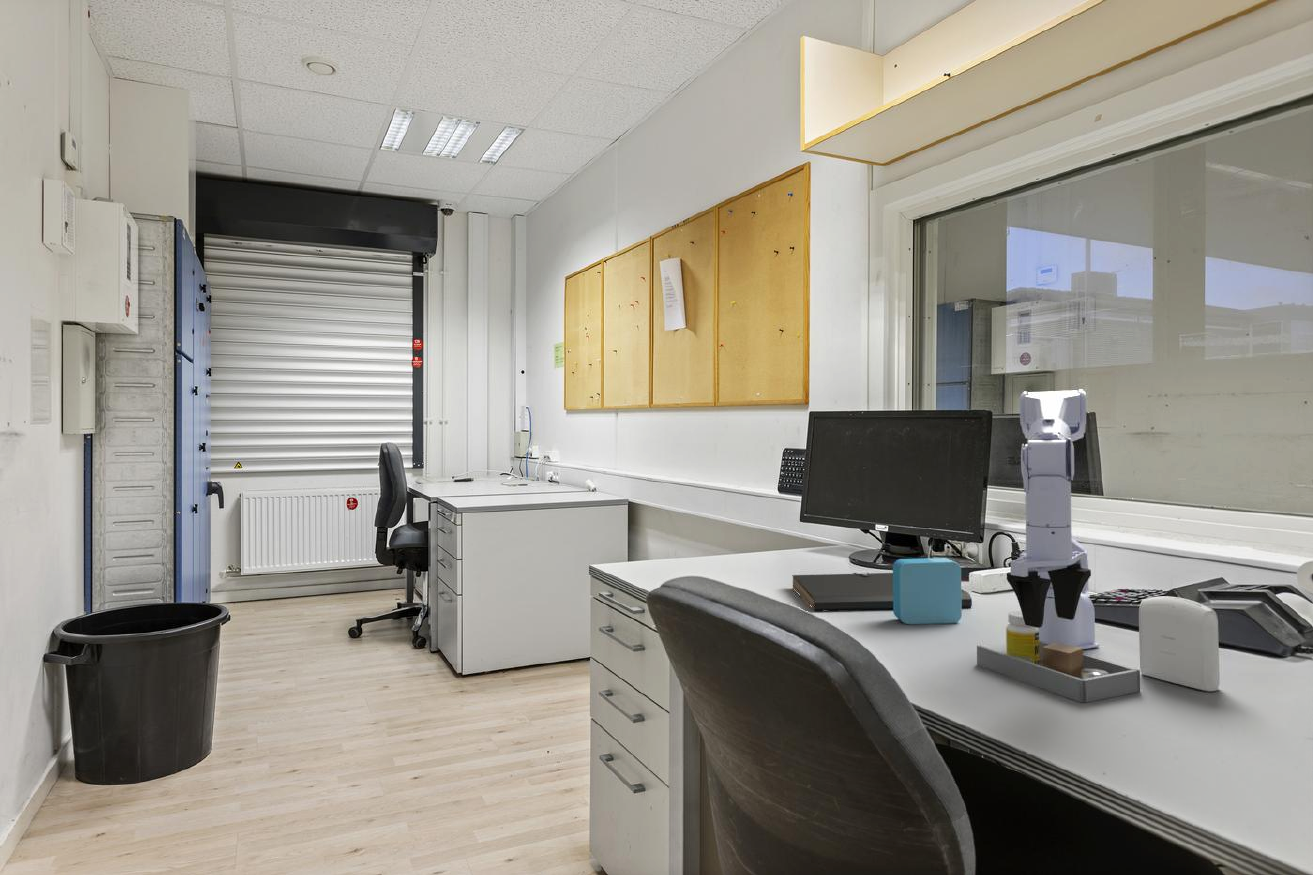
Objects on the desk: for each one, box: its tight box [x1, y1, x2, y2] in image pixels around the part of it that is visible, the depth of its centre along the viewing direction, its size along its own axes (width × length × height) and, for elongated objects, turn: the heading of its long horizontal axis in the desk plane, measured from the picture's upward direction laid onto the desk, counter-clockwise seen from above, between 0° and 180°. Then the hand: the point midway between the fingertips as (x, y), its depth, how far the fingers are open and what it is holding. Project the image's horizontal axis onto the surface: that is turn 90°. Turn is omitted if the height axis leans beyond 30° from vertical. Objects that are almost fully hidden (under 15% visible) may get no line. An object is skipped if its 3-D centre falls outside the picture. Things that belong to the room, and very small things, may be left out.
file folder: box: [791, 572, 973, 612], centre depth 173 cm, size 33×4×24 cm
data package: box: [892, 557, 963, 625], centre depth 152 cm, size 12×4×12 cm, turn 91°
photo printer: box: [1138, 595, 1221, 692], centre depth 114 cm, size 10×4×12 cm, turn 26°
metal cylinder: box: [1081, 669, 1109, 679], centre depth 110 cm, size 4×4×3 cm
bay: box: [976, 641, 1141, 704], centre depth 117 cm, size 11×19×3 cm, turn 22°
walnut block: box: [1041, 643, 1084, 679], centre depth 115 cm, size 4×4×5 cm
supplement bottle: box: [1005, 610, 1040, 665], centre depth 122 cm, size 5×5×8 cm
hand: (1049, 622), depth 108 cm, fingers open, 7 cm apart
